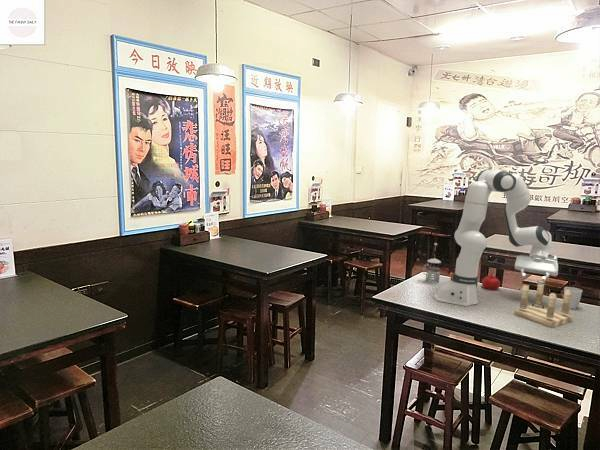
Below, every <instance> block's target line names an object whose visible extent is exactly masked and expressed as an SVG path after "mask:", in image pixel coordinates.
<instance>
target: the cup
mask: <svg viewBox="0 0 600 450" xmlns="http://www.w3.org/2000/svg"><path fill="white" fill-rule="evenodd" d="M567 289H569V290H571V292H572V293H571V300H570V307H569V310H577V308H578V306H579V305H580V301H581V300H582V295H583V289H581V288H577V287H572V286H565V287H563V294H564V293H565V290H567Z"/></svg>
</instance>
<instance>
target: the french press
mask: <svg viewBox="0 0 600 450" xmlns="http://www.w3.org/2000/svg"><path fill="white" fill-rule="evenodd" d="M433 244H434V245H435V246H434V245H433V246H434V250H436V249H437V248H436V247H437V246H438V243H437V242H434V243H433ZM426 262H427V263H426V264H424V265H423V268H422V269H423V271H422V273H423V274H424V275H425V280H424V281H423V283H424V284H425V285H428V286H433V287H434V286H436V287H437V286H441V285H442V284H441V283H440V275H441V270H440V267H438V266H434V265H435V264H442V261H441V260H439V259H437V258H436V255H434V258H430V259H427V261H426ZM430 264H434V265H433V266H431V265H430ZM426 267H427V269H426Z"/></svg>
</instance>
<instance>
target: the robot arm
mask: <svg viewBox="0 0 600 450" xmlns="http://www.w3.org/2000/svg"><path fill="white" fill-rule="evenodd" d="M492 192H498V193H504V196H505V199H506V204H505V205H504V208H503V211H504V218H505V222H506V223H505V224H506V226H507V228H506V229H507V232H508V233H507V234H508V235H507V236H508V241H509V242H510V244H512V246H515V247H516V248H517V247H518V248H519V247H523V246H532V248H531V249H530V251H529V254H528V255H526V254H518V255H517V256H516V258H515V263H514V269H515V270H517V271H520V272H521V278H524V279H525V278H526V273H525V272H528V273H534V274H540V275H544V276H542V279H541V281H544V282H546V280H547V279H548V278H550V276H552V277H557V276H558V275H559V263H558V256H557V255H555V254H552V253H550V250H551V248H552V238H553V237H552V234H551V233H550V232H549V231H548V230H546V229H545V228H544V227H542V226H540V225H536V226H528V227H519V226H518V224H517V218H516V214H518V213H519V212H521V211H523V210H524V209H526V208H527V207H528V206H529V205H530V202H531V199H532V198H531V194H530V191H529V189H528V186H527V184H526V182H525V181H524V179H523V177H522V176H521V175H520V174H518V173H511V172H509V171H506V170H499V169H490V168H489V169H483V170H481V171H480V172H479V173H478V174H477V176H476V177H475V180H474V181H473V182H471V183H470V184H469V186H468V188H467V191H466V195H465V199H464V205H463V210H462V215H461V219H460V222H459V225H458V227H457V229H456V230H455V232H454V235H453V236H454V240H455V242H456V244H457V245H458V246H460V248H461V249H460V252H459V254H458V257H457V258H456V262H455V272H449V276H450V279H449V280H448V281H446V282H444V283H442V284H441V285H439V288H438V291H437V292H434V293H433V299H434V300H436V301H437V302H440V303H441V302H442V303H447V304H453V305H457V306H458V305H459V306H464V307H468V306H471V305H478V302H479V301H478V294H477V291H478V289H477V288H478V286H479V285H478V283H479V276H478V275H479V273H478V272H479V265H480V261H481V257H482V255H483V252H484V251H485V249H486V247H487V245H488V240H487V238H486V236H485V235H484V234H483V233H481V232H480V228H481V226H482V224H483V222H484V221H485V219H486V215H487V210H488V204H489V197H490V194H491V193H492Z"/></svg>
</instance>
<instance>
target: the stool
mask: <svg viewBox="0 0 600 450" xmlns="http://www.w3.org/2000/svg"><path fill="white" fill-rule="evenodd" d="M529 290H530V287H529V286H528V285H527V284H524V285H522V289H521V297H520V304H519V308H517V309H514V313H513V314H514V316H517V317H520V318H522V319H525V320H528V321H531V322H534V323H535V324H539V325H543V326H545V327H547V328H550V329H551V328H556V327H559V326H562V325H565V324H569V323H572V322H573V319H574V316H572V315H569V314H570V309H569V307H570V300H571V293H572V292H571V290H569V289H567V290H565V293H564V292H563V300H562V307H561V312H560V311H557V310H556V309H555V308H556V302H557V294H556V293H555V292H550V294H549V295H548V303H547V307H546V306H545V304H543V303H542V304H541V305H540V304H535V301H534V302H531V305H527V304H528V298H529V297H528V296H529V292H530V291H529Z"/></svg>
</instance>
